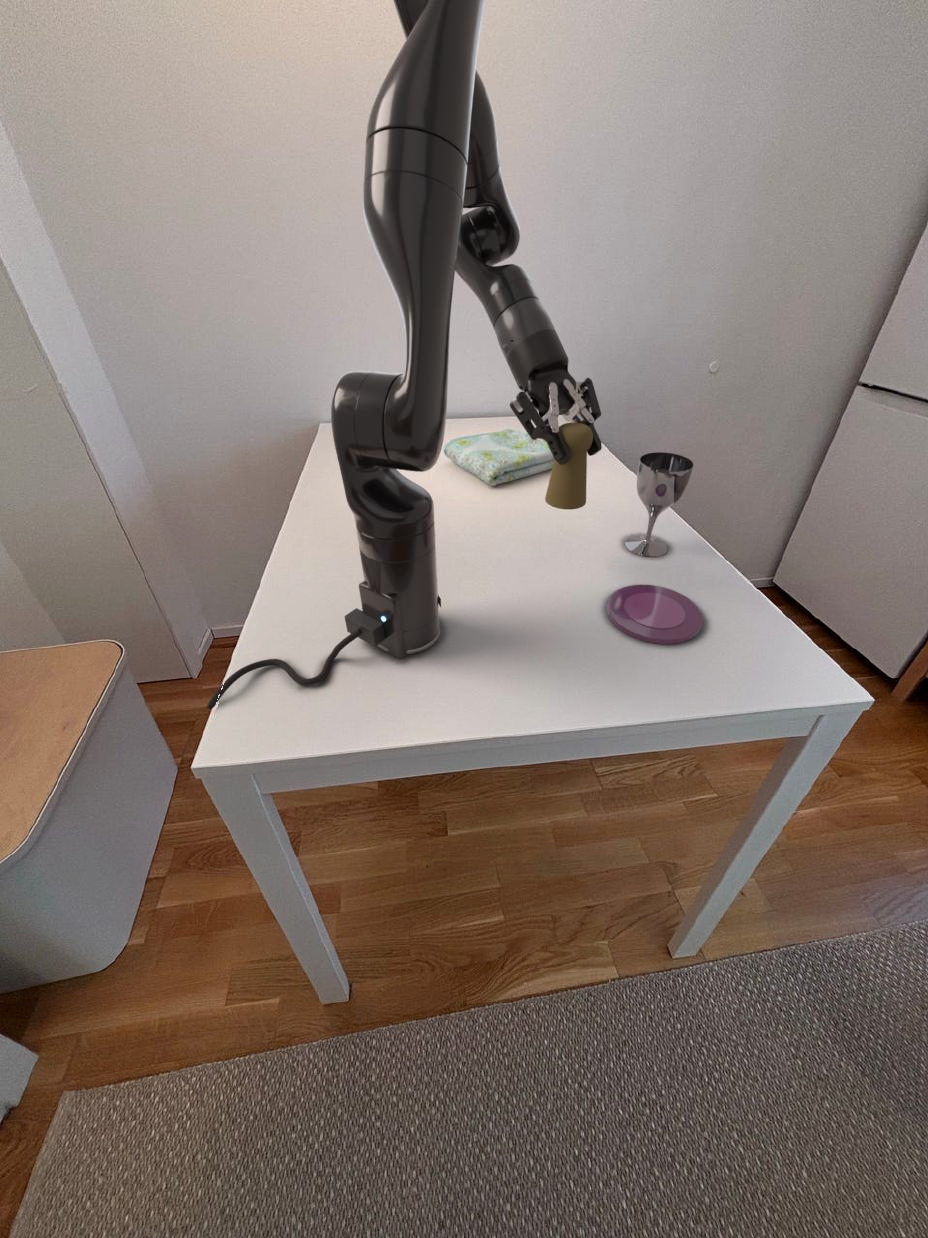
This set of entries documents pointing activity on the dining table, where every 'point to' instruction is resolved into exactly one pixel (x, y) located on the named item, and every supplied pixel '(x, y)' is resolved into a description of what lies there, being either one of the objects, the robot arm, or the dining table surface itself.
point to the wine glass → (658, 495)
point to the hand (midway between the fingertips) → (581, 456)
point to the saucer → (654, 614)
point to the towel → (500, 455)
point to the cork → (571, 469)
